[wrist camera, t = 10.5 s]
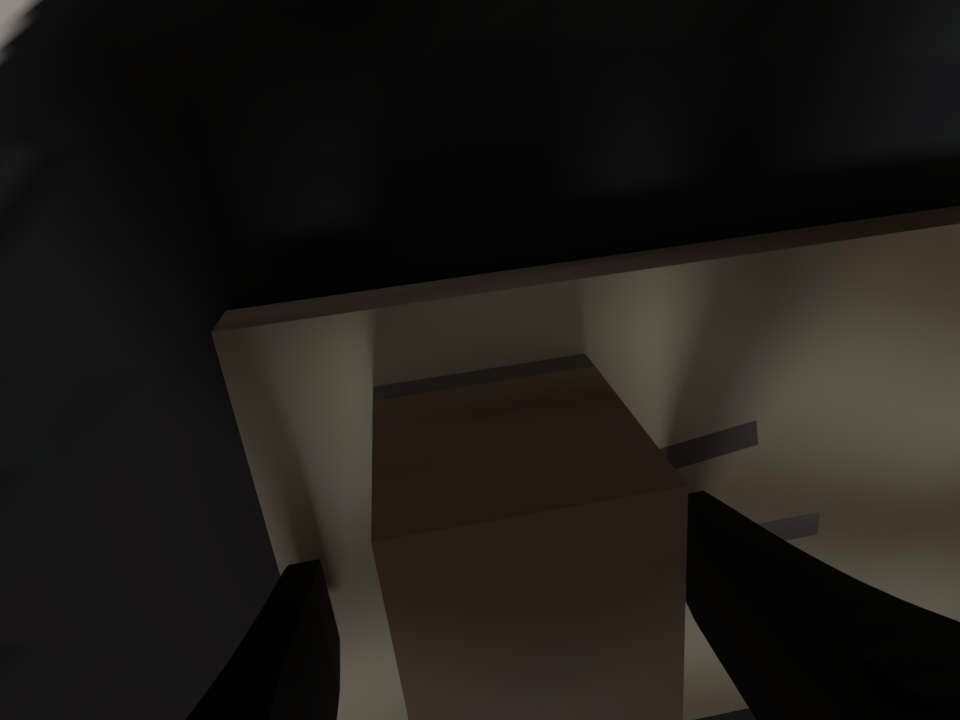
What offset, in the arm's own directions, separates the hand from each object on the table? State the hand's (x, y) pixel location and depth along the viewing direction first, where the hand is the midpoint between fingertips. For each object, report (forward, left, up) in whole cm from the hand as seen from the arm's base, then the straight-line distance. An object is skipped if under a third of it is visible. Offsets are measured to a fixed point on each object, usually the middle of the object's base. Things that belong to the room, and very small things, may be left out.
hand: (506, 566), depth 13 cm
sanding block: (0, 0, -1) cm, 1 cm away
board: (0, -4, -2) cm, 4 cm away
